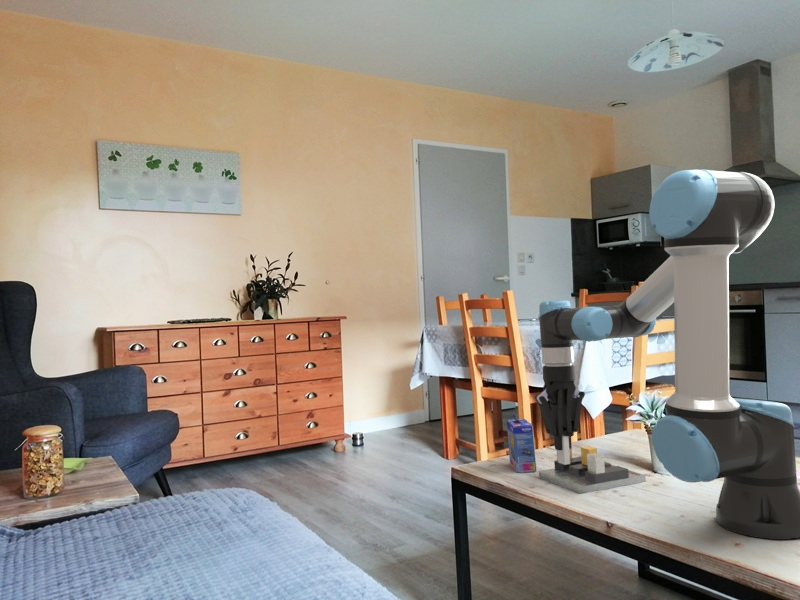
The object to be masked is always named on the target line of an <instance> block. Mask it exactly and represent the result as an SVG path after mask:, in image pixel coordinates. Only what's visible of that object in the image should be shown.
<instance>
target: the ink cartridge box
mask: <svg viewBox="0 0 800 600" xmlns="http://www.w3.org/2000/svg"><path fill="white" fill-rule="evenodd" d="M511 415H512V417H513V419H512V418H511V419H506V427H507V440H508V452H509V453H508V454H509V464H510V465H511V467H512V468H513V469H514V471H515V472H516V473H517V474H518V473H535V472H538V471H537V470H538V469H537V458H536V450H535V438H534V436H535V435H534V426H533V424H532V423H530V422H529V421H528V420H527V419H525V418H518V417H517V416H516V414H515V413H512V412H511Z"/></svg>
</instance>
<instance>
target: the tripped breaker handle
mask: <svg viewBox="0 0 800 600" xmlns="http://www.w3.org/2000/svg"><path fill="white" fill-rule="evenodd" d="M580 453H581V454H580V457H581V458H582V464H584V465H587V466H588V463H587V454H591V453H598V448H596V447H593V446H591V445H589V446H588V445H587V446H581V447H580Z"/></svg>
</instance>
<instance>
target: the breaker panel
mask: <svg viewBox="0 0 800 600" xmlns="http://www.w3.org/2000/svg"><path fill="white" fill-rule="evenodd" d="M569 453H570V464H567V465H564V464H561V463H558V452H557V451H556V459H557V460H554V461H553V463H554V468H550V469H543V470H538V478H540V479H543V480H544V481H546V482H549V483H552V484H555V485H557V486H559V487H561V488H564V489H566V490H569V491H572V492H574V493H576V494H579V495H580V494H586V493H591V492H596V491H601V490H606V489H612V488H617V487H624V486H628V485H629V486H630V485H634V484H638V483H644V482H646V481H647V480H646V474H644V473H641V472H637V471H634V470H632V469H628V468H626V467H622V466H619V465H614V464H612V463H610V462H607V461H605V456H604V454H601V453H598V452H597V453H591V454H587V463H588V466H587V465H584V464H582V458H581V456H576V457H575V456H574V457H573V446H572V445H571V449H569Z"/></svg>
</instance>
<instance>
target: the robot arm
mask: <svg viewBox="0 0 800 600" xmlns="http://www.w3.org/2000/svg"><path fill="white" fill-rule="evenodd" d="M775 204H776V203H775V198H774V194H773V191H772V189H771V188H770V186H769V184H767V183H766V181H765V180H763V179H762V178H760V177H759V176H757V175H755V174H752V173H748V172H744V171H725V170H724V171H723V170H713V169H703V168H699V169H685V170H680V171H679V170H678V171H676V172H673V173H671V174H670V175H669V176H667V177H666V178H665V179H663V180H662V182H661V183H660V185H659V186H657V188H656V189H655V191H654V193H653V194H652V197H651V200H650V205H649V210H648V211H649V215H648V216H649V221H650V225H651V227H652V228H654V231H655V232H656V234H657V235H660V237H663V238H664V239H663V240H664V243H663V245H664V249H663V250H664V251H665V252H666V253H667V254H668V255H669V257H668V258H667V259H666V260H665V261H664V262H663V263H662V264H661V265H660V266H659V267H658V268H656V270H654V271H653V273H651V274H650V275H649V276H648V278H646V279H645V280H644V281H643V282H642V283H641V284H640V285H639V286H638V287H637V288H636V289H635V290H634V291H633V292H632V293H631V294H630V295H629V296H628V297H627V298H626V299H625V300H623V301H622V302H621V303H620V304H618V305H602V306H601V305H600V306H595V305H594V306H584V307H583V306H582V307H572V305H571V301H570V300H568V299H566V300H564V299H562V300H560V299H559V300H545V301H544V300H543V301H541V302H540V303H539V310H538V312H539V314H538V315H539V316H538V320H539V332H540V334H539V336H540V344H541V345H540V346H541V347H540V349H541V363H542V364H544V365H543V366H542V368H541V369H542V380H543V382H544V384H543V388H542V392H541V393H540V394H539V395H535V397H534V399H535V401H536V403H537V404H538V406H539V410H540V413H541V417H542V420H543V425H544V428H545V432H546V434H549V435H551V436H553V440H554V448H555V450H556V453H557V452H558V463H561V464H564V465H567V464H570V453H569V449H571V446H572V437H573V436H574V435H575V434H574V433H577V432H578V431H579V424H580V418H581V417H580V416H581V410H582V403H583V400H584V397H585V395H586V394H585V393H586V392H585V391H581V390H580V389H578V388H577V386H576V384H575V380H576V371H575V370H576V369H575V366H574V364H573V363H574V362H575V352H574V350H575V349H574V341H582V342H583V341H584V342H589V343H590V342H599V341H602V340H608V339H619V338H620V339H621V338H639V337H642V336H647V335H649V334H651V333H652V332H653V330H654V329H655V326H656V325H657V324H656V323H657V318H658V317H659V316H660V315H661V314H662V313H664V312H665V311H666V310H667V309H669V307H670V306H671V305H673V307H674V308H673V309H674V313H673V314H674V318H673V319H674V321H673V322H674V324H673V325H674V328H673V329H674V391H673V394H671V395H670V396H669V397H668V398H666V399H665V415H664V416H662V417H661V418H659V419H658V420H657V421H656V423H655V424H654V425H653V427H652V432H651V442H652V447H653V450H654V453H655V455H656V457H657V460H658V461H659V462H660V464H662V465H663V467H664V469H665V470H666V471H667V472H668V473H669V474H671V475H672V476H673V477H674V478H676V479H678V480H680V481H683V482H686V483H693V484H694V483H700V482H702V483H709V482H713V481H714V480H717V479H722V478H723V484H722V486H721V489H720V494H719V497H718V502H717V504H716V507H715V516H716V522H717V523H718V524H719V525H720V526H721V527H723V528H724V529H726V530H729V531H731V532H734V533H737V534H740V533H741V534H740V535H743V536H744V535H745V536H748V535H749V536H748V537H755V538H761V539H768V538H769V539H771V540H792V539H791V538H797V539H799V538H798V537H800V489H799V486H798V481H797V477H798V475H797V462H796V461H797V460H796V447H795V446H796V445H795V432H794V428H795V423H794V421H793V414H792V410H791V408H790V407H789V406H788V405H787V404H784V403H781V402H776V401H769V400H757V399H749V398H748V399H747V398H734V397H732V396H731V395H730V297H729V296H730V290H729V289H730V288H729V287H730V286H729V285H730V284H729V279H730V278H729V275H730V273H729V270H730V269H729V267H730V266H729V263H730V261H729V258H730V256H731V254H739V253H742V252H743V251H744V250H745V249H746V248H747V247H749V246H750V245H751V244H752V243H754V241H755V240H757V239H758V238H759V237H760V236H761V235H762V233H763V232H764V231H765V230H766V229H767V227H768V226H769V224H770V222H771V221H772V219H773V216H774V211H775ZM673 303H674V304H673ZM548 401H549V402H548Z"/></svg>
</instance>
